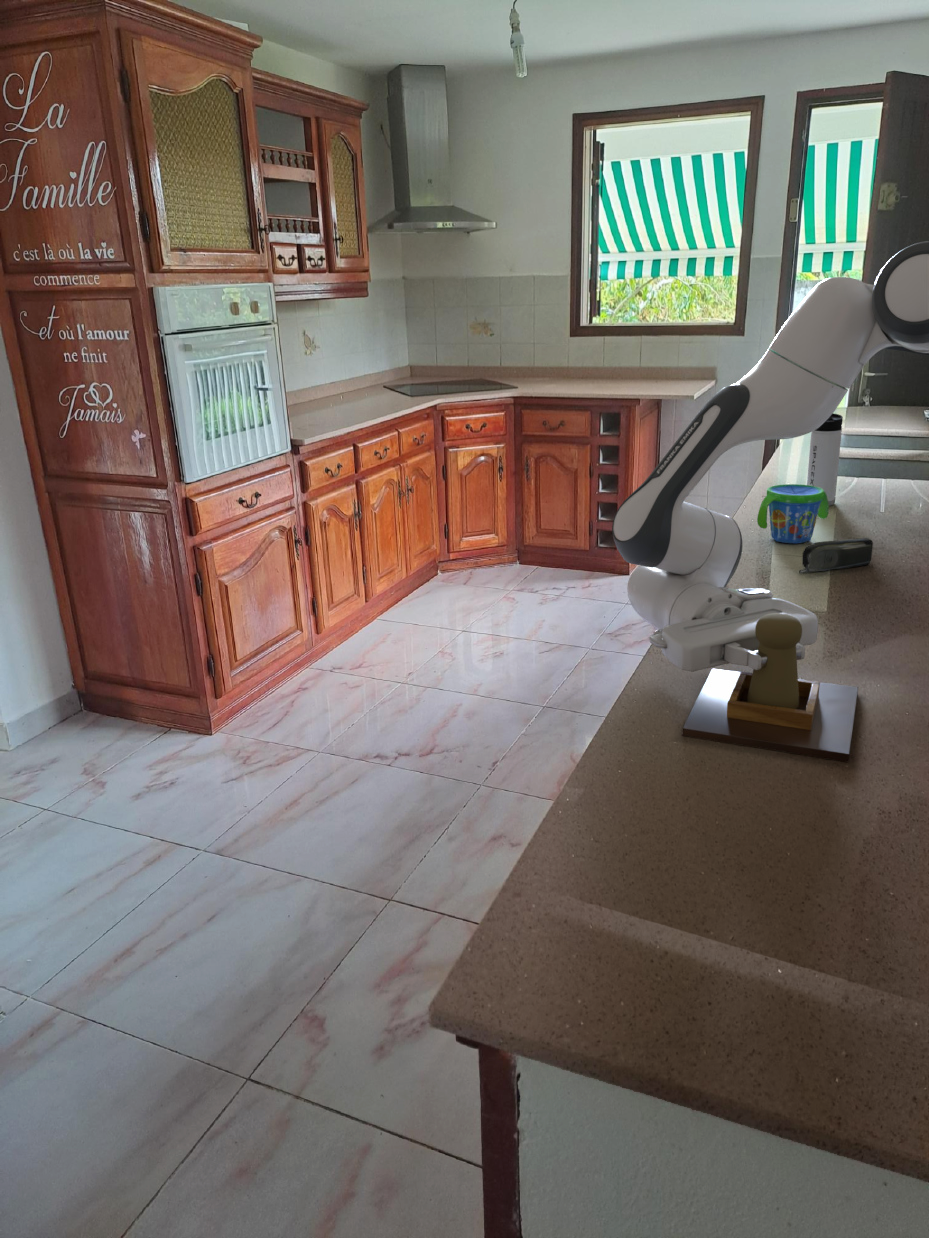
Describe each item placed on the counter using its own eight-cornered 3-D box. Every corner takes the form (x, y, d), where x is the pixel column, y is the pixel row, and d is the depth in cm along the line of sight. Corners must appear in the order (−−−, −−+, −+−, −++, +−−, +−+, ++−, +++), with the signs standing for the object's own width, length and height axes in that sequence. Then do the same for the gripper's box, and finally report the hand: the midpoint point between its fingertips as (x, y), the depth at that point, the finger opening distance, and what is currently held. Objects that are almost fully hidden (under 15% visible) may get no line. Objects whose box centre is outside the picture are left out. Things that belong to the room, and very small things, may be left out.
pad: (711, 675, 118) (712, 654, 117) (857, 693, 111) (860, 672, 110) (682, 735, 103) (682, 712, 102) (848, 762, 96) (851, 738, 94)
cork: (794, 716, 102) (802, 629, 99) (741, 707, 105) (747, 622, 101) (803, 695, 107) (811, 611, 103) (752, 687, 110) (758, 605, 106)
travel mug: (831, 499, 202) (839, 411, 195) (837, 506, 196) (846, 415, 189) (802, 499, 204) (809, 412, 197) (808, 506, 198) (815, 416, 191)
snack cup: (809, 528, 181) (813, 480, 177) (842, 541, 171) (847, 490, 168) (741, 538, 178) (744, 488, 174) (771, 551, 168) (775, 499, 164)
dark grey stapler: (865, 535, 158) (794, 544, 154) (877, 539, 156) (805, 548, 152) (862, 561, 160) (792, 571, 156) (874, 566, 157) (802, 575, 153)
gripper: (642, 612, 111) (708, 650, 99) (774, 586, 118) (852, 618, 106) (641, 658, 113) (706, 701, 101) (771, 629, 120) (846, 666, 108)
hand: (781, 658), depth 103 cm, fingers closed on cork, 4 cm apart
